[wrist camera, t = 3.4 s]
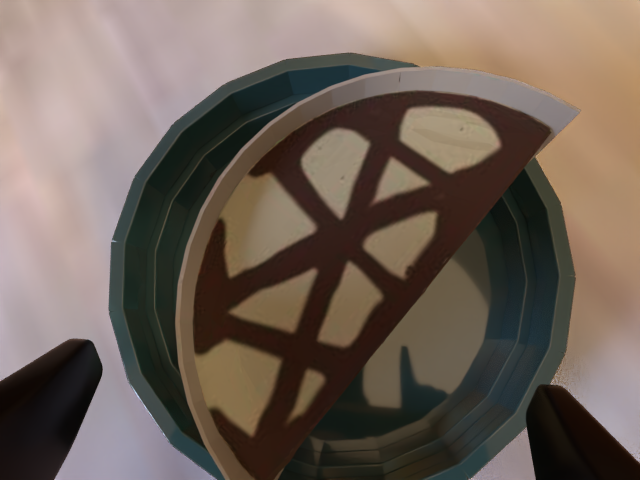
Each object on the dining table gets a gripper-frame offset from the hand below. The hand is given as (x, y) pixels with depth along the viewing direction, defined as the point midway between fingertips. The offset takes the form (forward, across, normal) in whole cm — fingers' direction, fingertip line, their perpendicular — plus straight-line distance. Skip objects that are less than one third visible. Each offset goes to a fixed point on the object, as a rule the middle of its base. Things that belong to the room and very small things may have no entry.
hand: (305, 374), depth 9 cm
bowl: (+10, 0, +5) cm, 11 cm away
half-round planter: (+10, 0, +5) cm, 11 cm away
